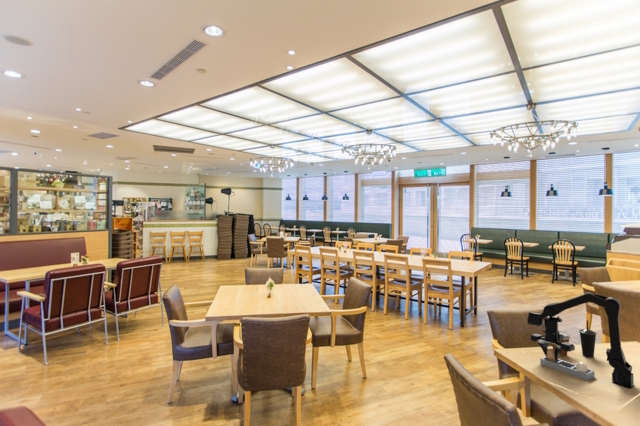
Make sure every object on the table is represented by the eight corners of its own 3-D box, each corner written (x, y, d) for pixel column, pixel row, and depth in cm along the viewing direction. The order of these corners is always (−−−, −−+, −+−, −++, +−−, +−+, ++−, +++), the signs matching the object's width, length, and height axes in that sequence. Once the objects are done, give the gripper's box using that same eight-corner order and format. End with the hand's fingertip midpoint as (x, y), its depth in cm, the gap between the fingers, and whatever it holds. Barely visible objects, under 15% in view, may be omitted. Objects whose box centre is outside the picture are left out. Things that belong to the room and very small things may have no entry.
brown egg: (558, 361, 169) (558, 349, 169) (554, 363, 167) (553, 351, 167) (549, 358, 173) (549, 346, 173) (545, 360, 171) (545, 348, 171)
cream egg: (589, 376, 158) (588, 363, 158) (585, 378, 156) (584, 365, 156) (578, 372, 161) (578, 360, 161) (574, 374, 159) (574, 361, 159)
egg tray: (594, 378, 157) (594, 370, 157) (587, 381, 153) (587, 374, 153) (547, 362, 175) (547, 355, 175) (540, 365, 171) (540, 358, 171)
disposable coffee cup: (570, 359, 178) (570, 337, 179) (549, 355, 184) (549, 333, 184) (570, 353, 186) (570, 332, 186) (550, 349, 192) (549, 329, 192)
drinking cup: (583, 358, 180) (582, 321, 180) (576, 352, 187) (576, 317, 188) (599, 359, 178) (599, 323, 178) (592, 354, 185) (592, 319, 186)
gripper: (579, 331, 166) (580, 362, 166) (540, 321, 182) (540, 349, 182) (568, 335, 161) (569, 366, 160) (529, 324, 177) (529, 353, 177)
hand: (551, 358), depth 170 cm, fingers closed on brown egg, 4 cm apart
